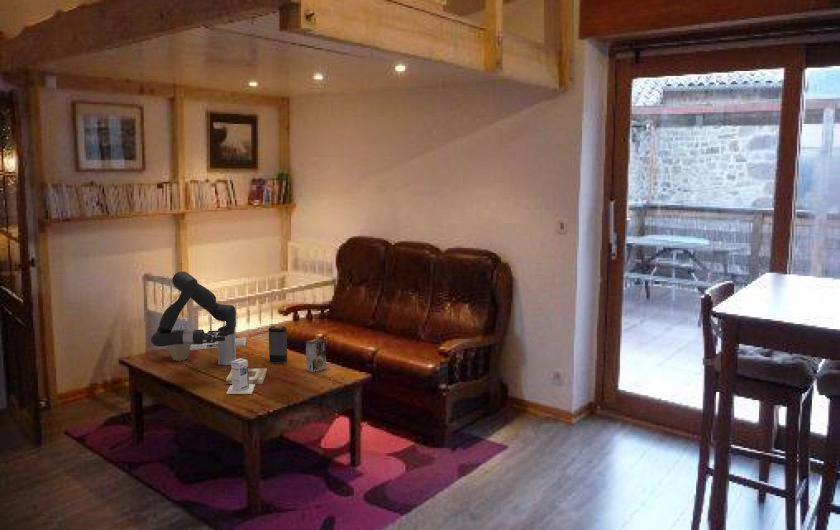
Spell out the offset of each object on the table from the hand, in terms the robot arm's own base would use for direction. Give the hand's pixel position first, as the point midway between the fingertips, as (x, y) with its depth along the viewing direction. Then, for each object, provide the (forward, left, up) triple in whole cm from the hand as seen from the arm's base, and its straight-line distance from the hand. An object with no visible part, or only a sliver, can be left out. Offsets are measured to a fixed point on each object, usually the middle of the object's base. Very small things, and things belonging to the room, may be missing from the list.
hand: (226, 336), depth 338 cm
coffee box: (+44, +17, -24) cm, 53 cm away
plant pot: (-34, +41, -24) cm, 58 cm away
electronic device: (+22, +32, -24) cm, 45 cm away
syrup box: (+9, -14, -23) cm, 29 cm away
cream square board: (+9, +4, -24) cm, 26 cm away
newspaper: (-19, +67, -25) cm, 74 cm away
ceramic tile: (+9, -14, -24) cm, 29 cm away
